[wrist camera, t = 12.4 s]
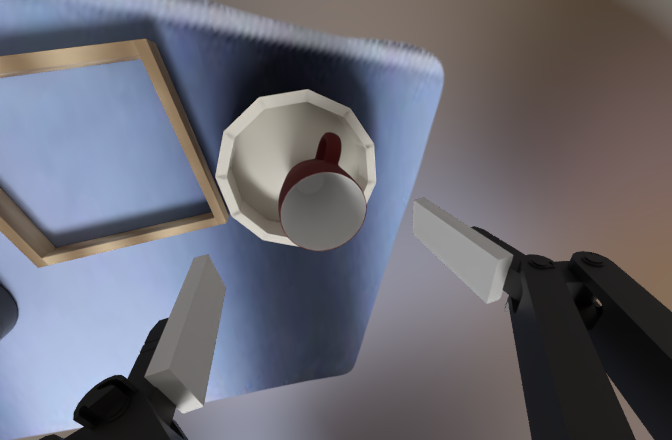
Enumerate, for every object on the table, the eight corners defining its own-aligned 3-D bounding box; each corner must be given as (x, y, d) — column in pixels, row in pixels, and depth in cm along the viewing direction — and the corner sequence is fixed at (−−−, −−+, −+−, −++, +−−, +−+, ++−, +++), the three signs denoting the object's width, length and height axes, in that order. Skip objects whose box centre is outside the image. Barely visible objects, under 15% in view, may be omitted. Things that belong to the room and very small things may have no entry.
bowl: (252, 241, 33) (249, 259, 29) (199, 106, 24) (186, 109, 20) (367, 212, 35) (378, 225, 31) (356, 80, 27) (370, 78, 23)
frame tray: (52, 256, 27) (38, 267, 26) (-120, 77, 18) (-160, 75, 17) (229, 215, 30) (226, 222, 28) (155, 43, 21) (145, 38, 20)
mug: (280, 119, 26) (285, 132, 17) (349, 131, 28) (383, 147, 20) (274, 207, 30) (275, 251, 22) (334, 210, 33) (356, 252, 24)
